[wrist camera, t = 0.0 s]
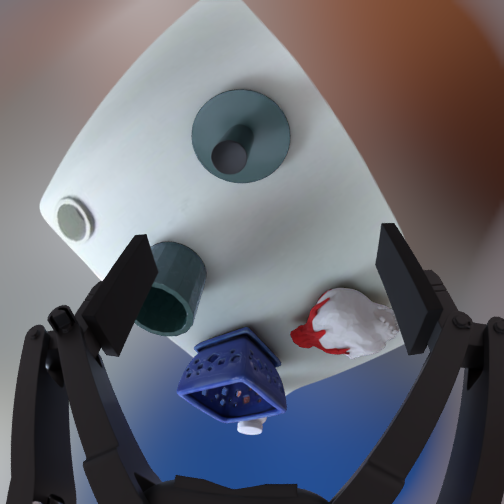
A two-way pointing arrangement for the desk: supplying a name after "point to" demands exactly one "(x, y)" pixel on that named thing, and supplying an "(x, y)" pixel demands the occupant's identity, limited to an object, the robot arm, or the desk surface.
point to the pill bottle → (250, 422)
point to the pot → (173, 290)
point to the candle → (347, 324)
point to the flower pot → (234, 378)
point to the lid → (241, 136)
